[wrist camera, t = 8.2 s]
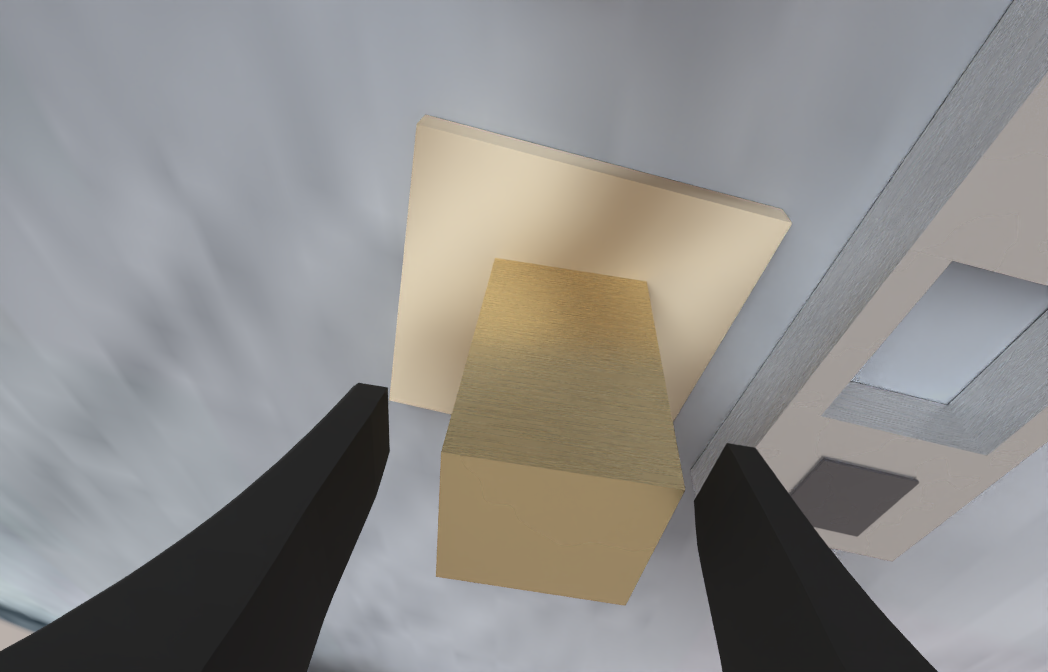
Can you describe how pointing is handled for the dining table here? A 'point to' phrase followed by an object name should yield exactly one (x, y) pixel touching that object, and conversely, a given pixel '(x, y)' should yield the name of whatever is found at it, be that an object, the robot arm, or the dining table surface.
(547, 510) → the brass peg
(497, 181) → the birch pad
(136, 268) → the dining table surface
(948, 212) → the grey peg hole board
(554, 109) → the dining table surface
